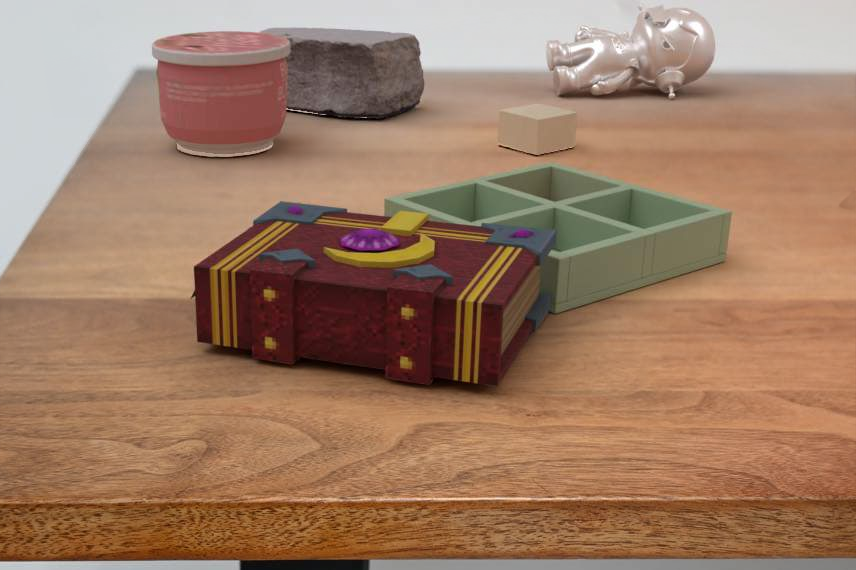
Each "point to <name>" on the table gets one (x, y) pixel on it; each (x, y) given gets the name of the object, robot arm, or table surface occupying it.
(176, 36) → the container
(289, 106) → the decorative stone
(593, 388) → the table surface
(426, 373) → the decorative book
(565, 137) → the block
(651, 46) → the figurine
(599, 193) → the grid
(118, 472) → the table surface
